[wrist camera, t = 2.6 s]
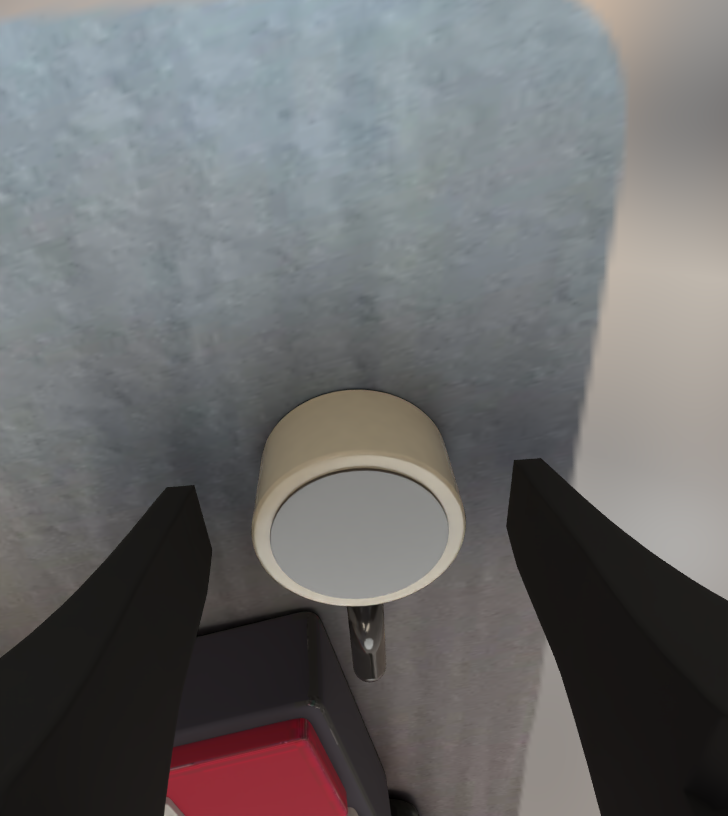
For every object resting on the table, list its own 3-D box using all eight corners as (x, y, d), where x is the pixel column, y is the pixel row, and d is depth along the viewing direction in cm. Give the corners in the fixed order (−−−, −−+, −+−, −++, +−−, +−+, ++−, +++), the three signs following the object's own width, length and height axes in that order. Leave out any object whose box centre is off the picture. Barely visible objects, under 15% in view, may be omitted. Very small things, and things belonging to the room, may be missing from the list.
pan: (247, 395, 13) (232, 463, 11) (449, 380, 13) (473, 445, 11) (290, 621, 17) (285, 700, 15) (441, 609, 17) (457, 685, 15)
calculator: (403, 892, 20) (-12, 987, 20) (385, 761, 23) (35, 844, 24) (322, 731, 14) (-264, 869, 14) (315, 589, 17) (-151, 701, 18)
